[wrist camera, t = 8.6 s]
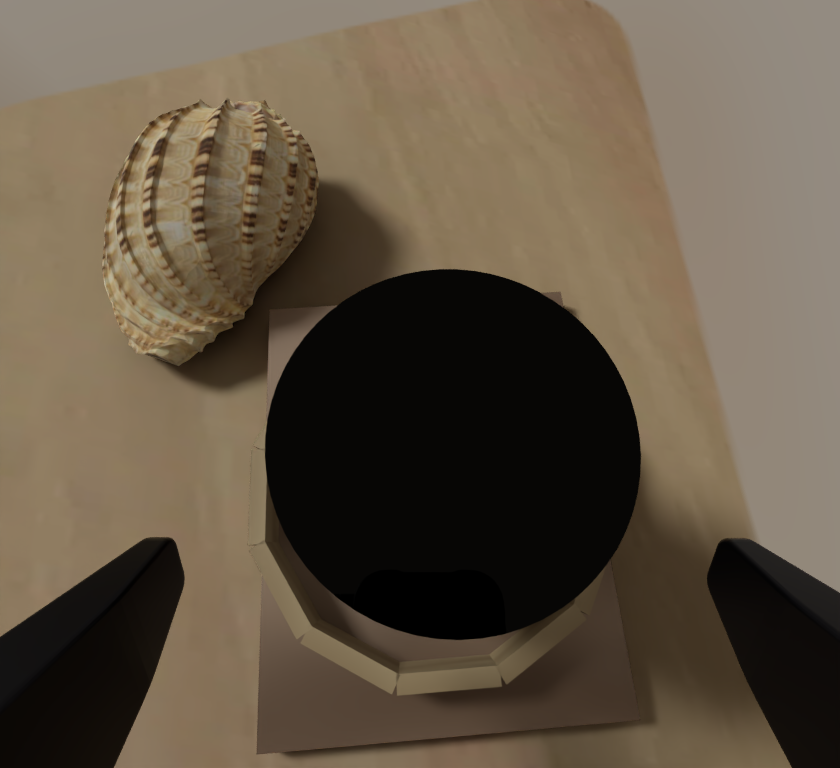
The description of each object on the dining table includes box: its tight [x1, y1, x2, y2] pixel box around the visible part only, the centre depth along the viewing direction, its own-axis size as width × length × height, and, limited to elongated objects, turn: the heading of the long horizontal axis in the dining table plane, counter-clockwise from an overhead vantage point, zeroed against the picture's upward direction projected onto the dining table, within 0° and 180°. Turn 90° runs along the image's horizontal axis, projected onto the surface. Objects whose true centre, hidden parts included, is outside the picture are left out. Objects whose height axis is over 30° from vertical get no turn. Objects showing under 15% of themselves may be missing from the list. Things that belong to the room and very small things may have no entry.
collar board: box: [247, 292, 640, 754], centre depth 16 cm, size 14×11×2 cm
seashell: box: [103, 98, 319, 366], centre depth 18 cm, size 8×6×10 cm
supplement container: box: [265, 269, 641, 640], centre depth 12 cm, size 6×6×9 cm
